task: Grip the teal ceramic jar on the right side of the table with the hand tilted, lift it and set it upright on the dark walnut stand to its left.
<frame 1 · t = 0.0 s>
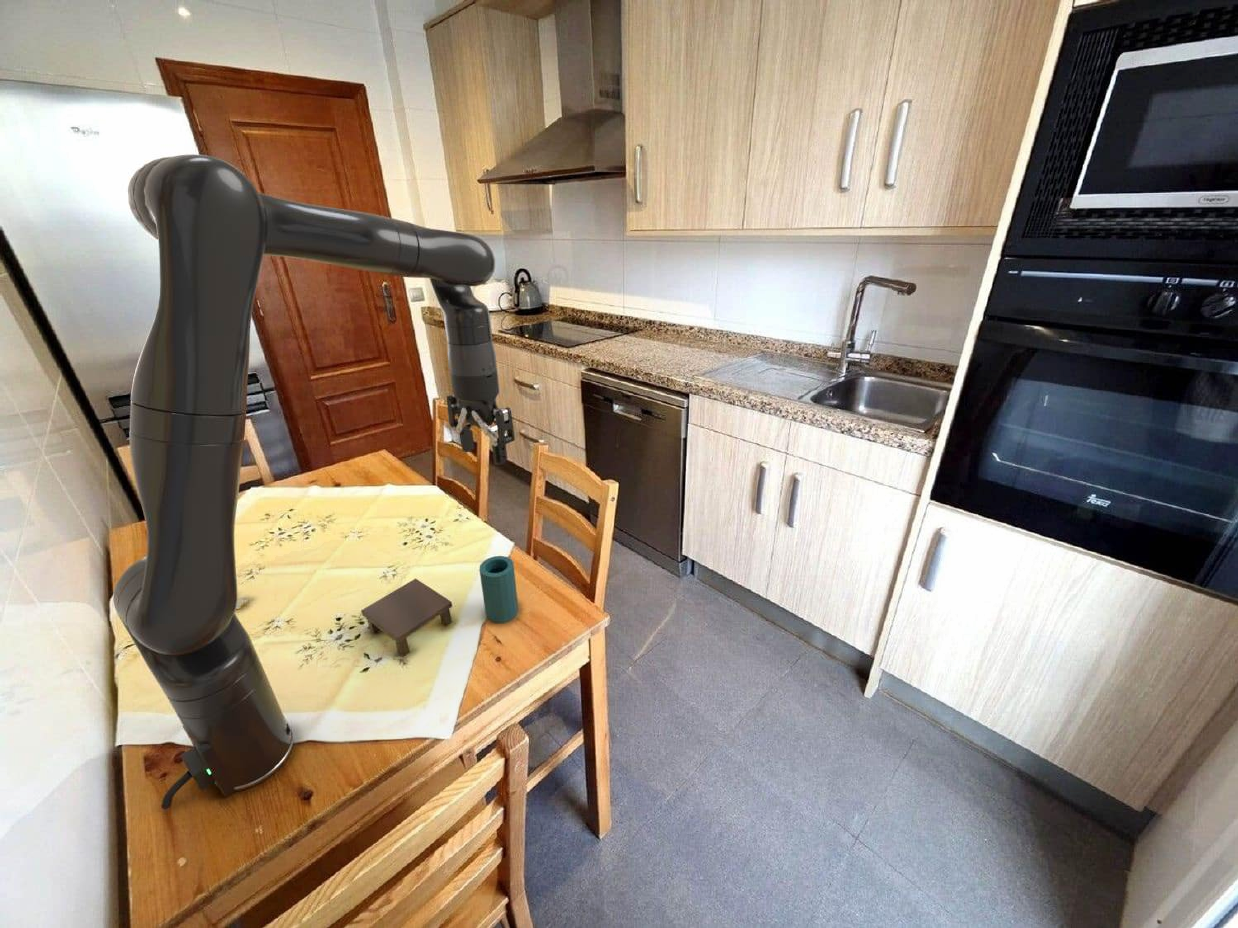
hand: (484, 456, 90), 29 cm above the table, tool pointing down, fingers open, 8 cm apart
stand: (411, 626, 92), on the table
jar: (502, 612, 96), on the table
fruit: (217, 610, 96), on the table
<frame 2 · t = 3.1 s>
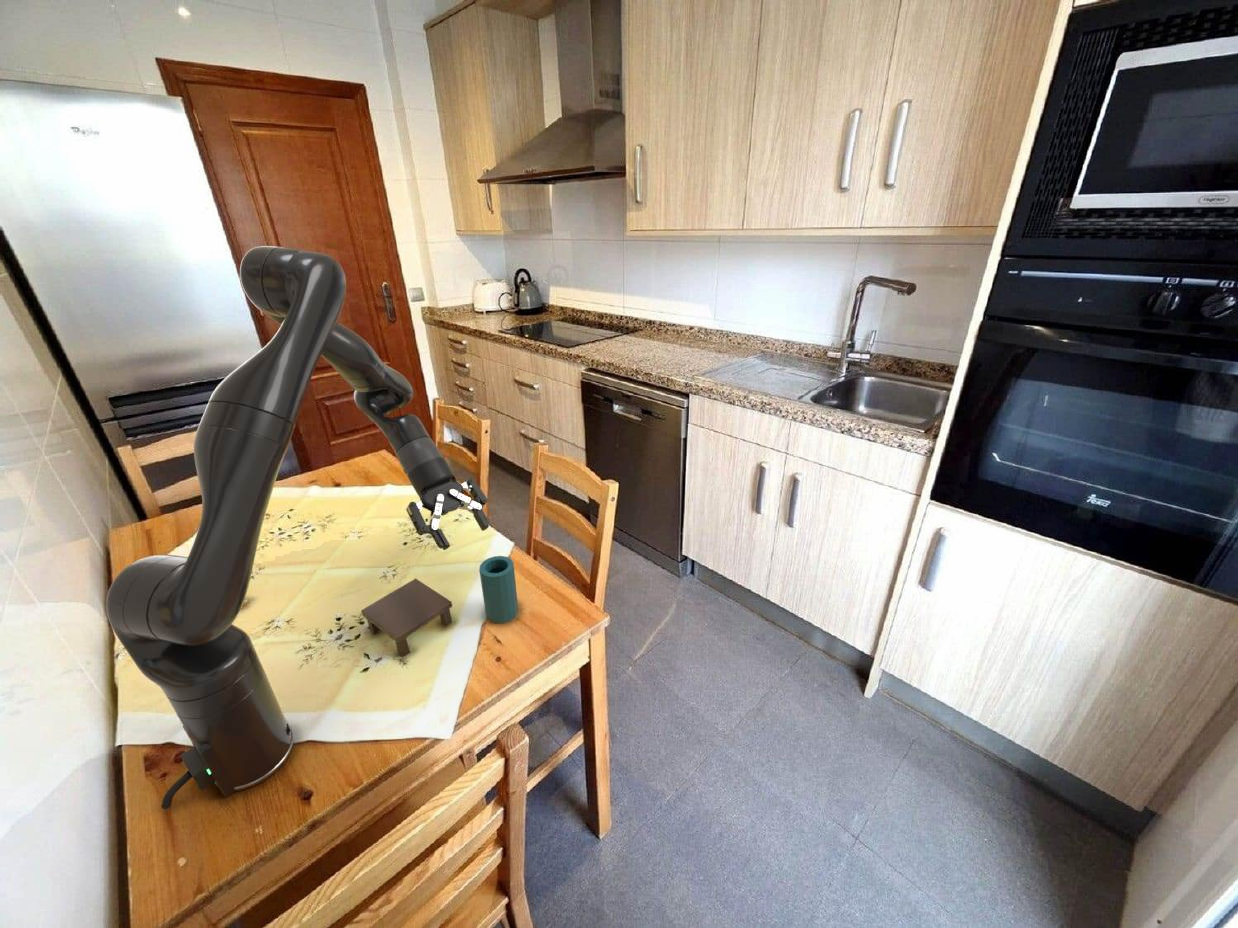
hand: (467, 538, 95), 13 cm above the table, tool tilted 45°, fingers open, 8 cm apart
nothing on the table moved.
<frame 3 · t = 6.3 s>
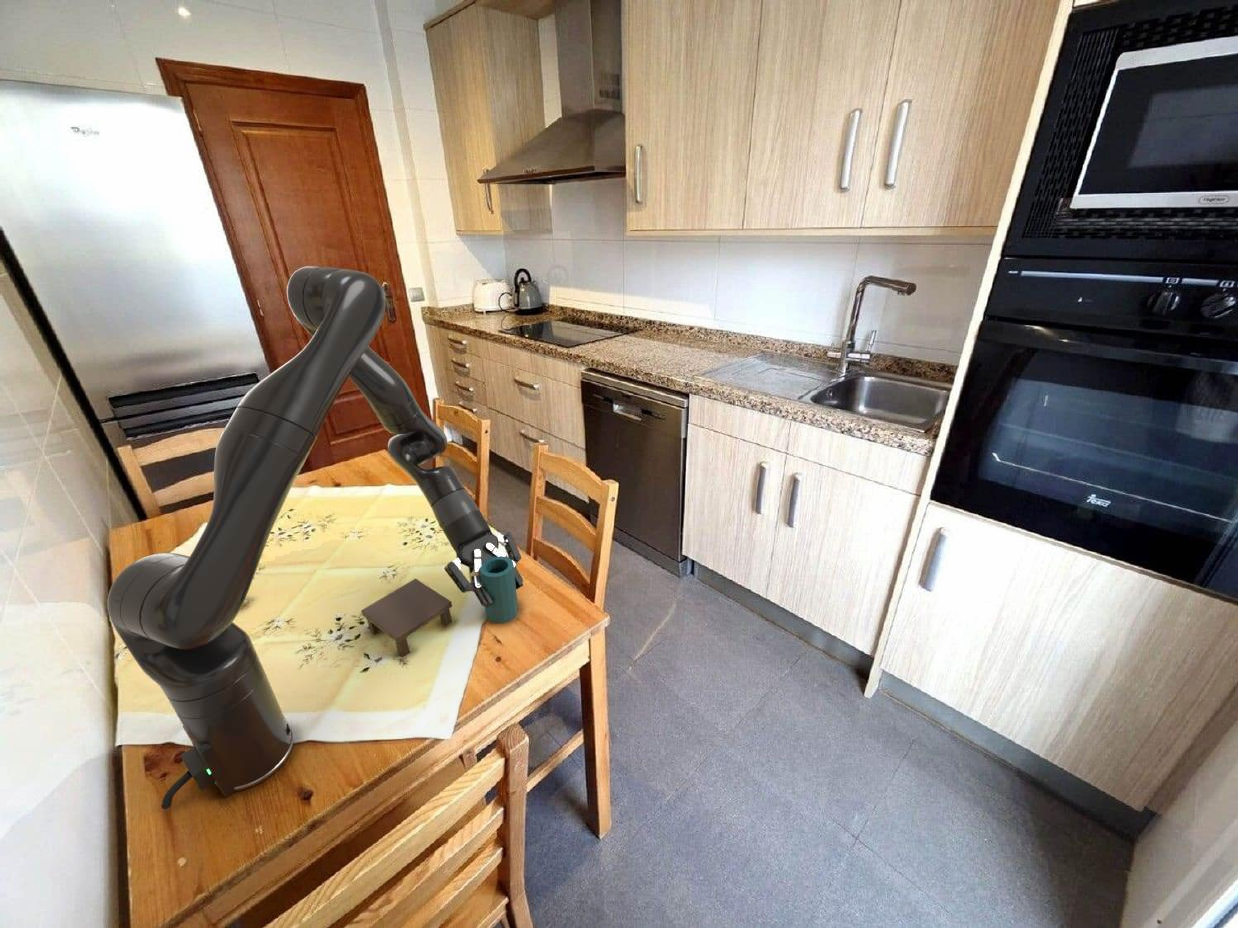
hand: (505, 596, 93), 5 cm above the table, tool tilted 45°, fingers closed on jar, 6 cm apart
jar: (502, 612, 96), on the table, touching gripper
everything else where it was.
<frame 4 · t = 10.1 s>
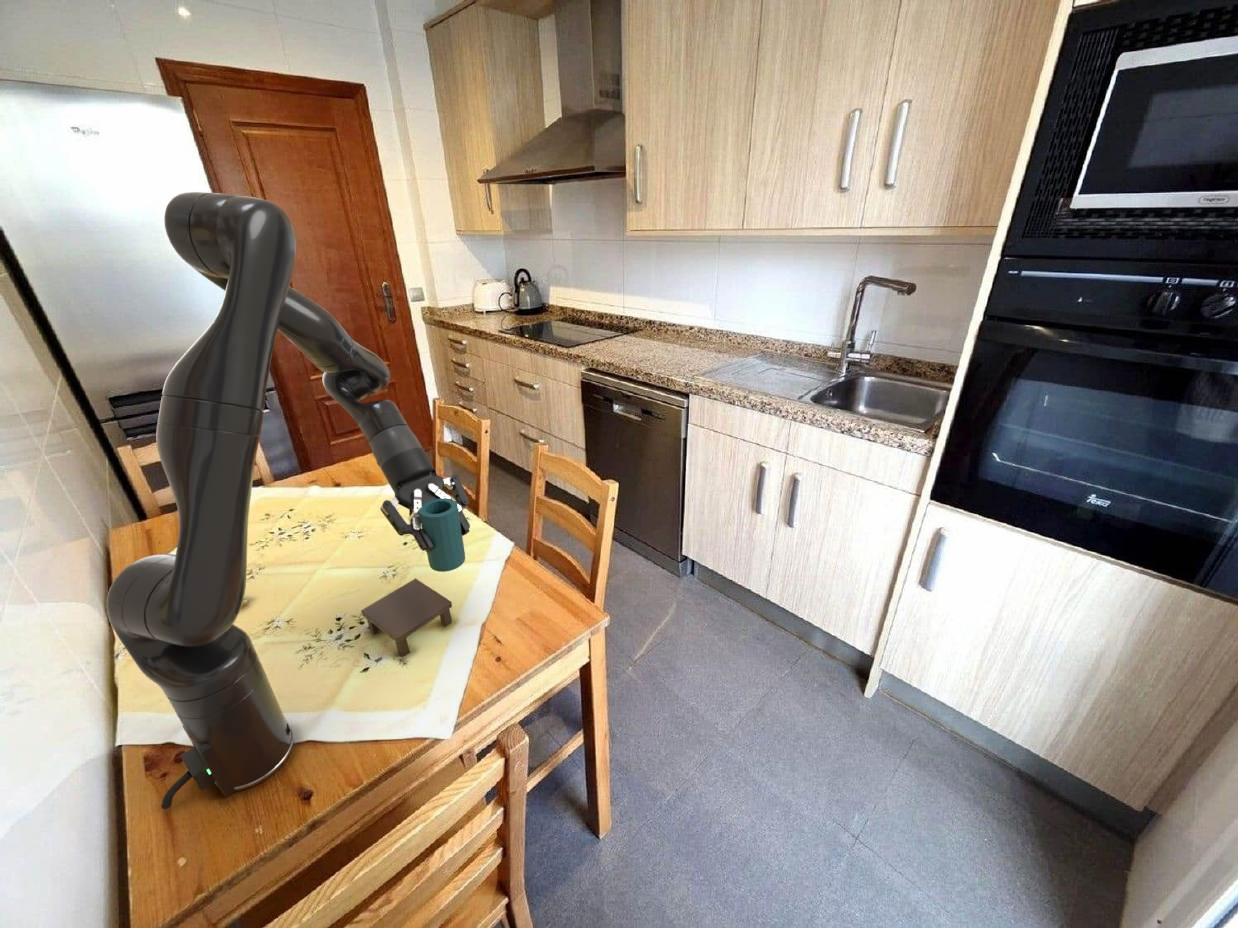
hand: (448, 541, 85), 19 cm above the table, tool tilted 45°, fingers closed on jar, 6 cm apart
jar: (447, 560, 88), point 14 cm above the table, touching gripper
everything else where it was.
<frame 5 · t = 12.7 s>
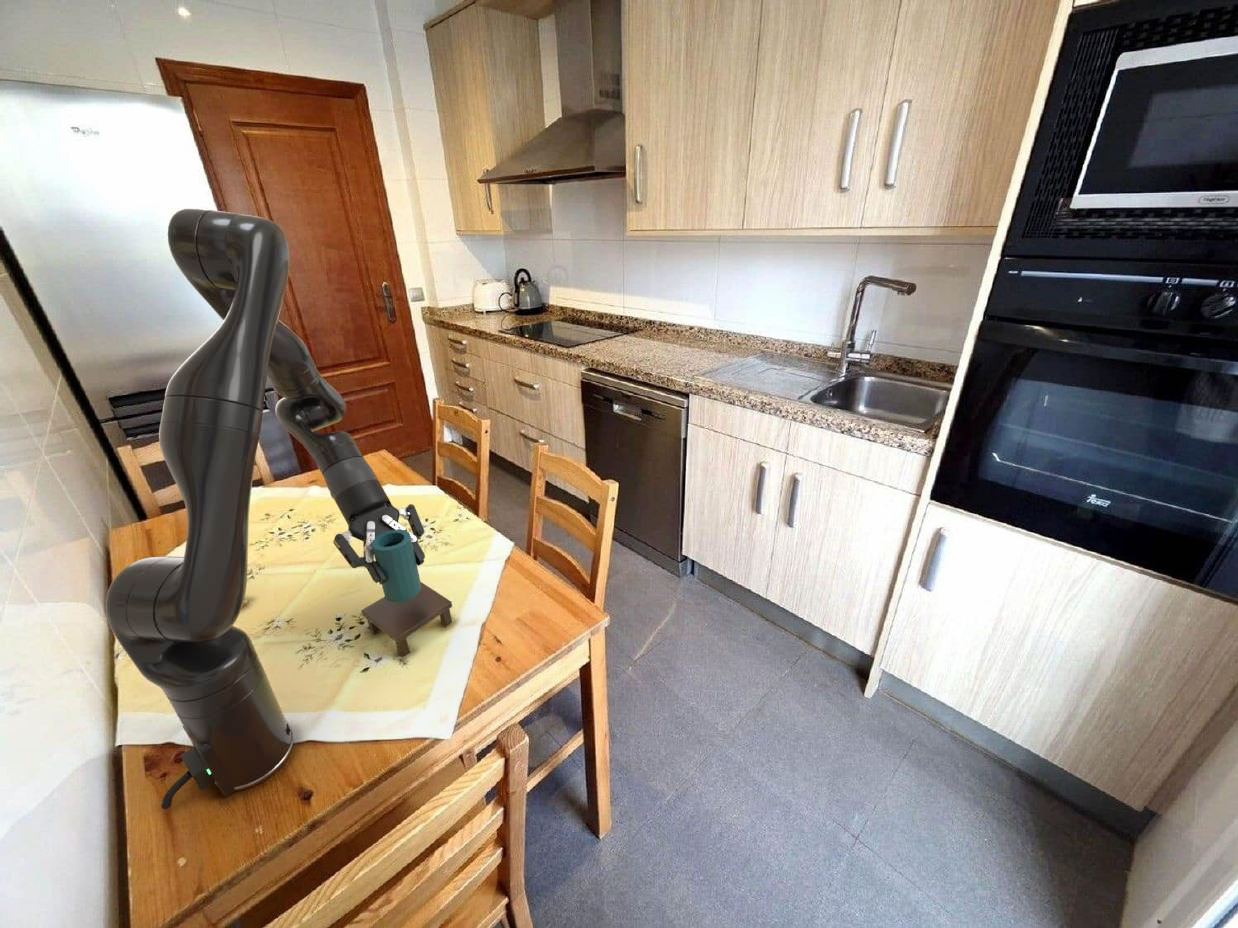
hand: (403, 572, 85), 13 cm above the table, tool tilted 45°, fingers closed on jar, 6 cm apart
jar: (403, 590, 89), point 8 cm above the table, touching gripper
everything else where it was.
when the fingers open (10 cm above the table, at t = 14.3 s): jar stays where it is, resting on stand.
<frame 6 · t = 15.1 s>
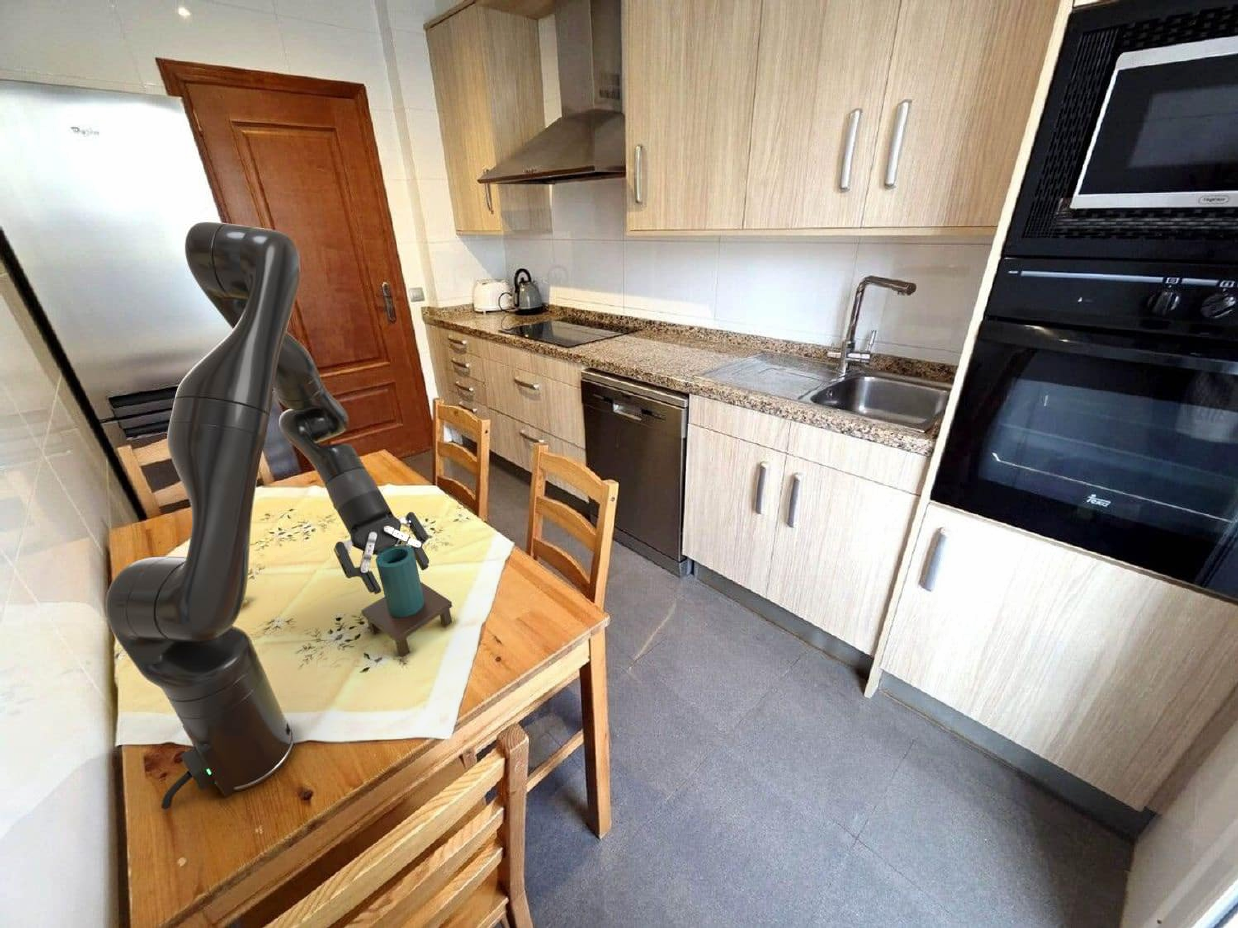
hand: (403, 580, 86), 11 cm above the table, tool tilted 45°, fingers open, 8 cm apart
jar: (406, 605, 90), point 5 cm above the table, touching stand
everything else where it was.
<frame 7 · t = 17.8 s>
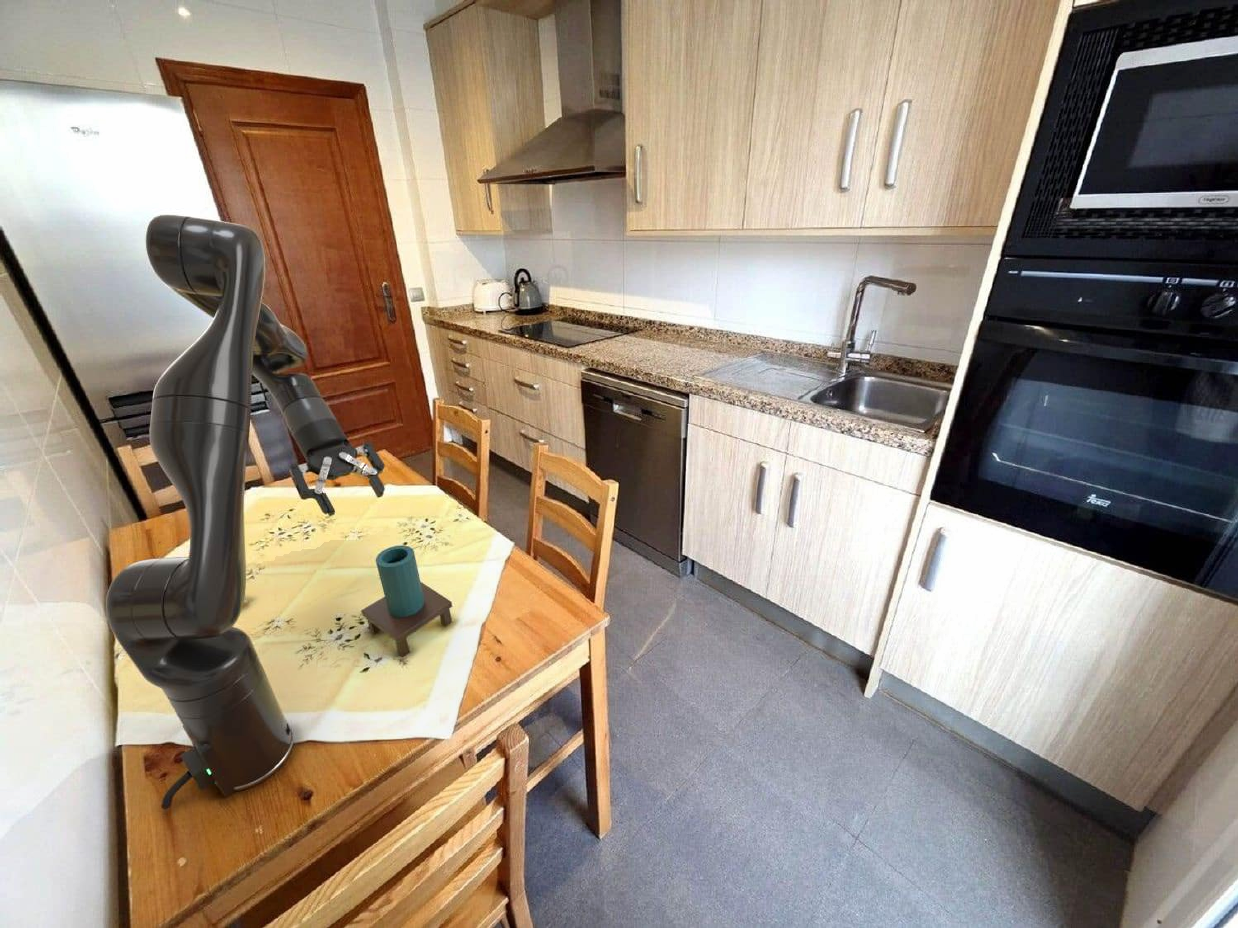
hand: (357, 504, 89), 22 cm above the table, tool tilted 45°, fingers open, 8 cm apart
nothing on the table moved.
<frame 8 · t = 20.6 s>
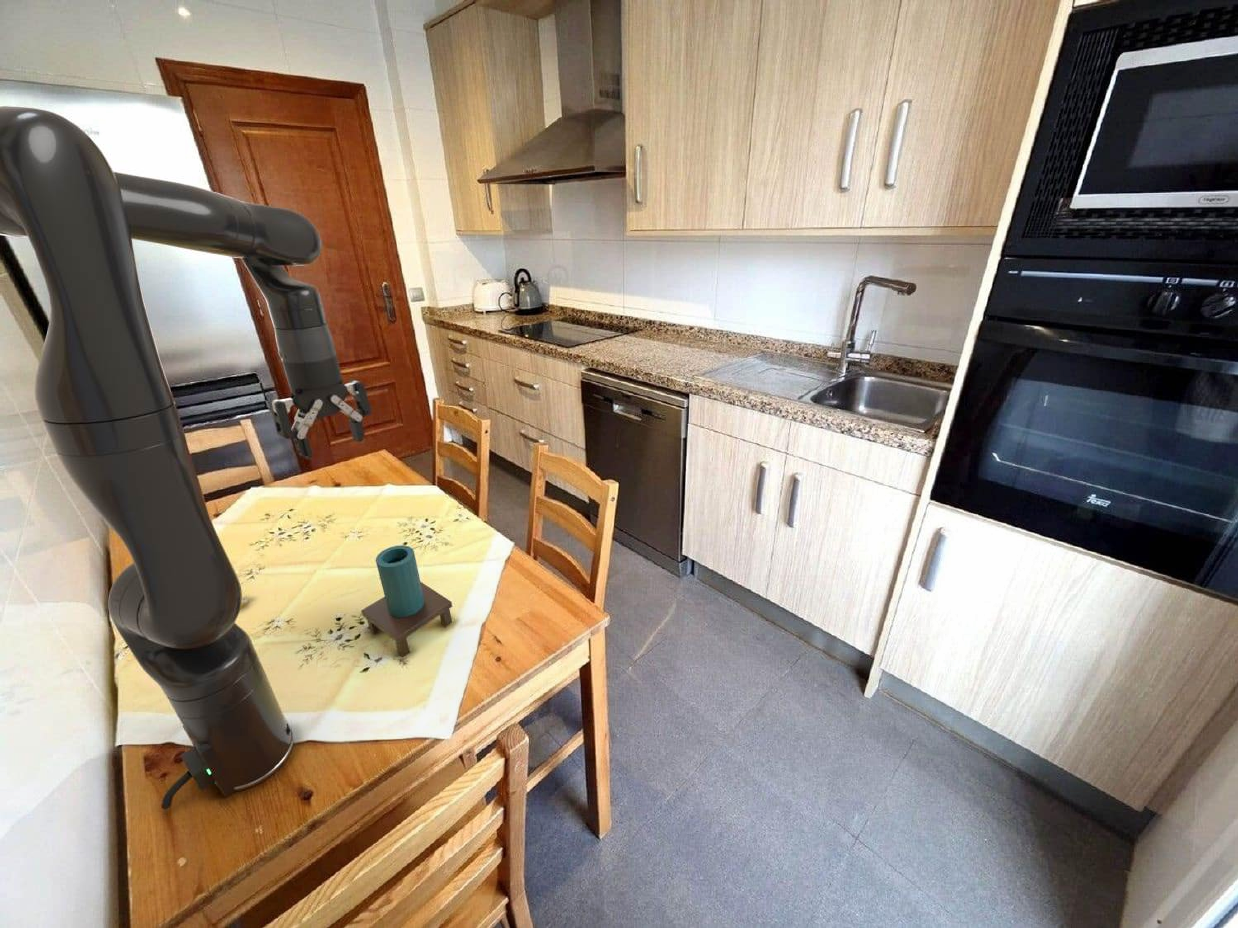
hand: (334, 448, 85), 32 cm above the table, tool pointing down, fingers open, 8 cm apart
nothing on the table moved.
at the end: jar inside the target area on the stand (0.1 cm from its centre), point 5.0 cm above the stand's base; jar tilted 0°; the gripper is holding nothing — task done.
